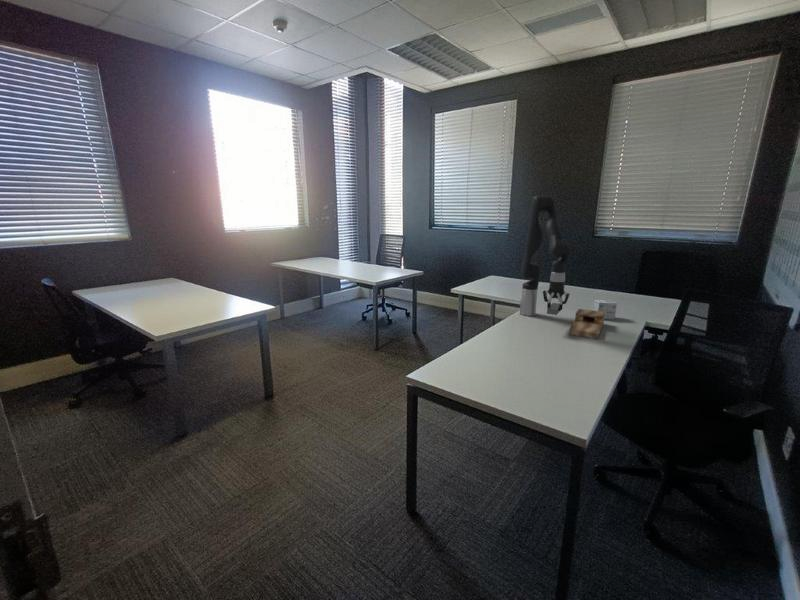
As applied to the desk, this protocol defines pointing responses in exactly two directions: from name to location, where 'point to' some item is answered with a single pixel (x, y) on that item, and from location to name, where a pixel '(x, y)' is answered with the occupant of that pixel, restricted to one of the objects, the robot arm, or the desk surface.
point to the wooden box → (587, 323)
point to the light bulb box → (606, 308)
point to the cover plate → (553, 309)
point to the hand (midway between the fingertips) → (554, 309)
